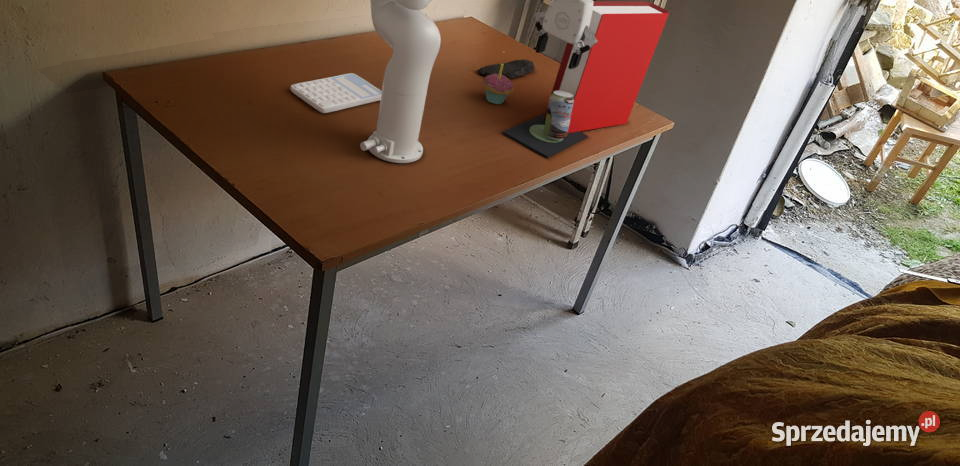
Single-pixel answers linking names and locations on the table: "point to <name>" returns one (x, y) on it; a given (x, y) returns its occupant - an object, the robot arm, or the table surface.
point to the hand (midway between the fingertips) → (555, 59)
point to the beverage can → (558, 115)
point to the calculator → (337, 92)
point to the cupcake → (497, 87)
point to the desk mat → (541, 137)
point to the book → (611, 63)
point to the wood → (509, 69)
